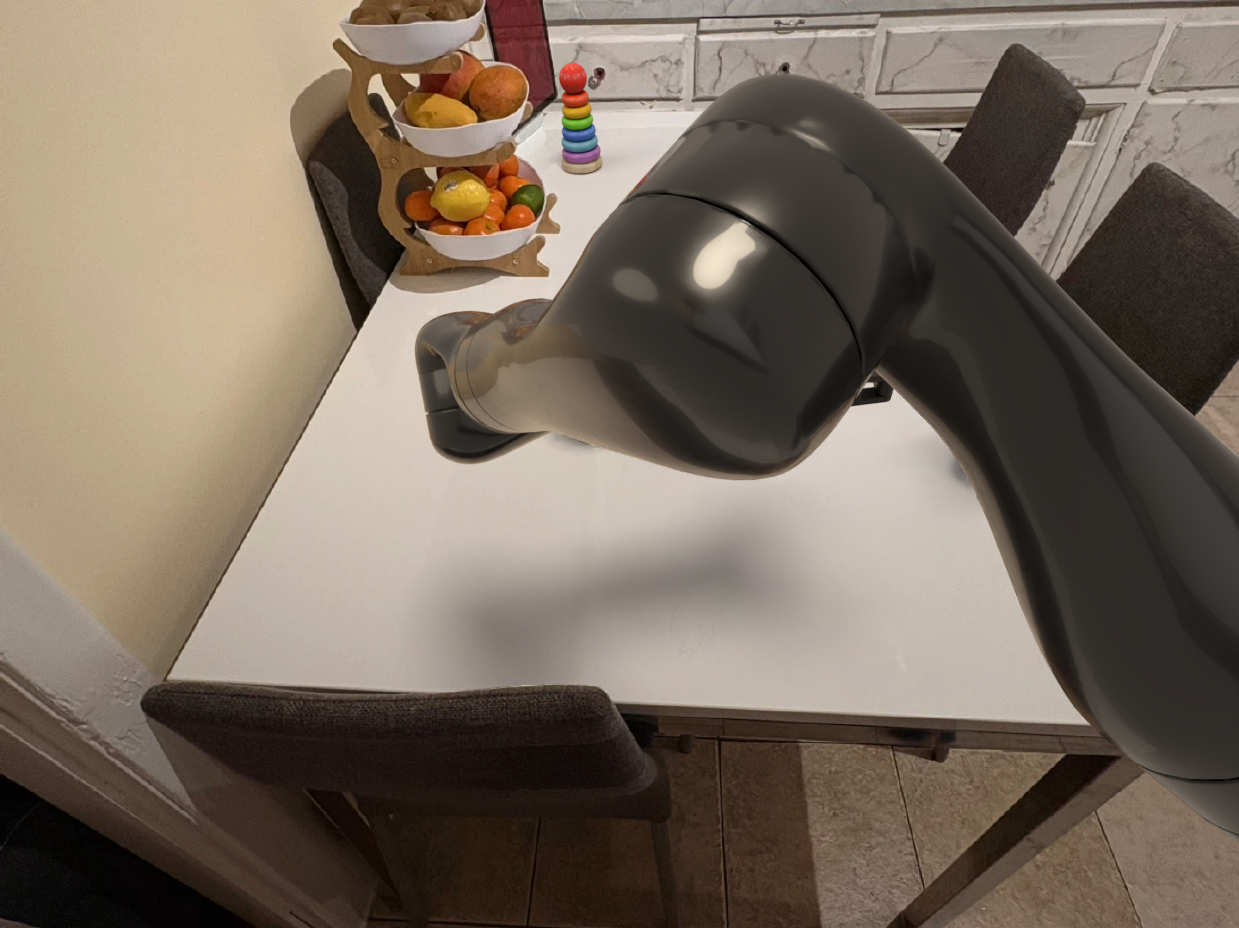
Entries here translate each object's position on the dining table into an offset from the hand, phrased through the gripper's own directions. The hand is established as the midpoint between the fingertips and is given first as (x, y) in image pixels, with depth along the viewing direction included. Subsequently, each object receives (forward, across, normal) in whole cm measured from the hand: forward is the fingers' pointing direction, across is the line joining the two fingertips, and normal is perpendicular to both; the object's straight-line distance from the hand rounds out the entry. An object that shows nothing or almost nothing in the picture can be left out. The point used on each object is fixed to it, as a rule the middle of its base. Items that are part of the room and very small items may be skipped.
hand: (910, 319), depth 54 cm
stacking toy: (-11, +101, +28) cm, 105 cm away
